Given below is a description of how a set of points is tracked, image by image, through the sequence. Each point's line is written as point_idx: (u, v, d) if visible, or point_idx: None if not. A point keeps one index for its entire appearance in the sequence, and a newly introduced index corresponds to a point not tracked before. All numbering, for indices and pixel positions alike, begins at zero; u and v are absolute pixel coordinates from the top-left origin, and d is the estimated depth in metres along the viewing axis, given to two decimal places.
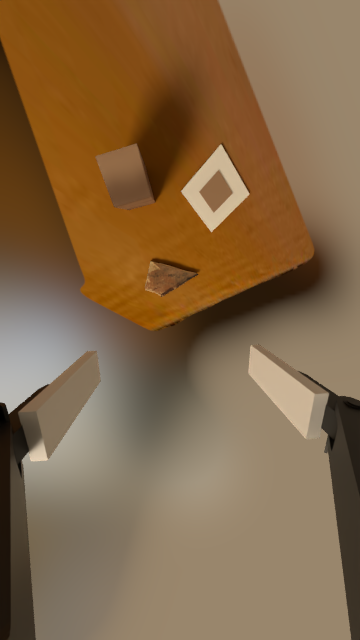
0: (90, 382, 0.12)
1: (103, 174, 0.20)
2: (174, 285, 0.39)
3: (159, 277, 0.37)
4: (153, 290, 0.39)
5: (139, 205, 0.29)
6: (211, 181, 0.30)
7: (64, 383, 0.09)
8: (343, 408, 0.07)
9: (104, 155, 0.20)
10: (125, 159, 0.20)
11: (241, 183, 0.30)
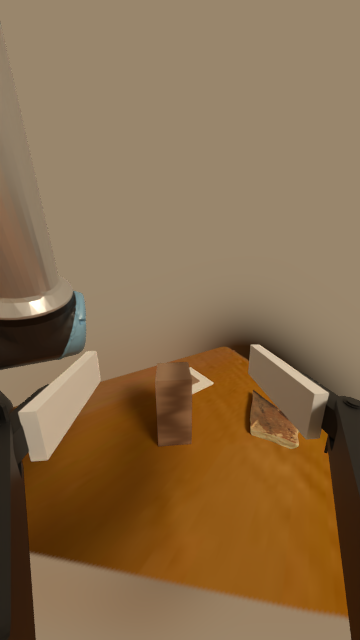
0: (90, 382, 0.12)
1: (167, 379, 0.23)
2: (275, 409, 0.31)
3: (269, 421, 0.28)
4: (294, 433, 0.26)
5: None
6: None
7: (64, 383, 0.09)
8: (343, 408, 0.07)
9: (156, 376, 0.24)
10: (163, 368, 0.26)
11: None
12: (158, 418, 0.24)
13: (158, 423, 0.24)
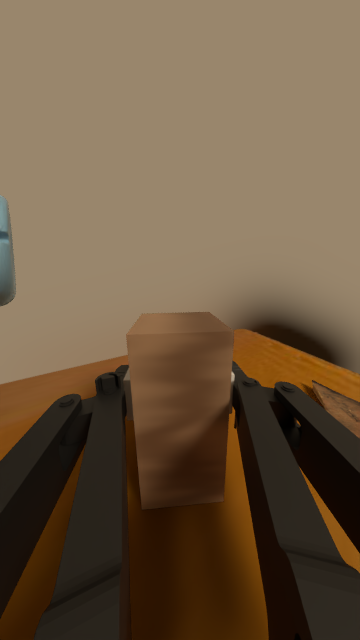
0: None
1: (163, 332, 0.08)
2: None
3: None
4: None
5: None
6: None
7: None
8: (242, 388, 0.09)
9: (133, 328, 0.09)
10: (153, 318, 0.11)
11: None
12: (139, 442, 0.09)
13: (140, 455, 0.09)
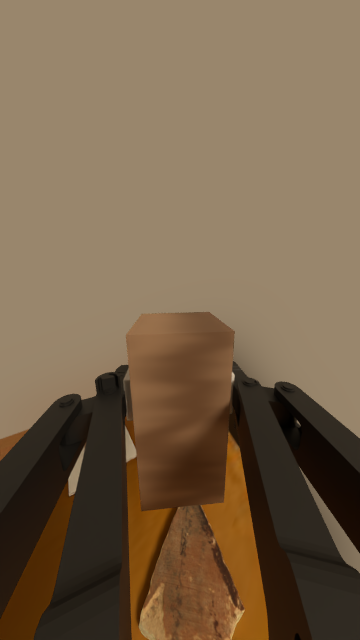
0: None
1: (163, 332, 0.08)
2: (208, 539, 0.17)
3: (184, 592, 0.14)
4: None
5: None
6: None
7: None
8: (242, 388, 0.09)
9: (133, 328, 0.09)
10: (153, 318, 0.11)
11: None
12: (139, 443, 0.09)
13: (140, 456, 0.09)
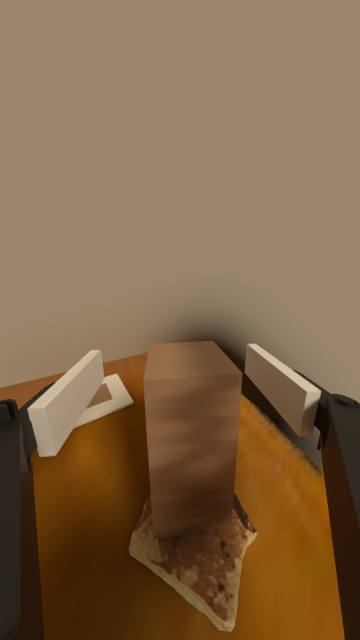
0: (94, 380, 0.13)
1: (177, 376, 0.09)
2: None
3: None
4: (232, 562, 0.10)
5: None
6: None
7: (70, 381, 0.10)
8: (334, 406, 0.08)
9: (147, 369, 0.09)
10: (162, 352, 0.11)
11: None
12: (153, 477, 0.09)
13: (153, 489, 0.10)
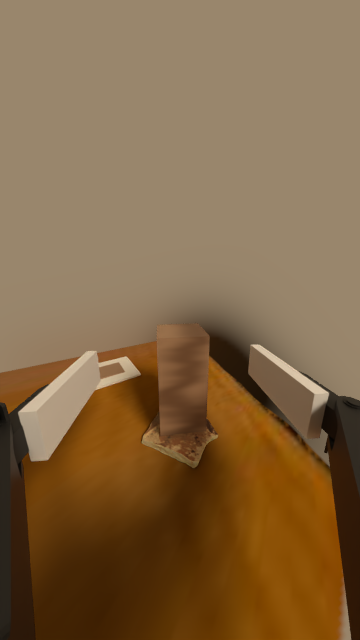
0: (90, 382, 0.12)
1: (174, 337, 0.16)
2: None
3: None
4: (200, 443, 0.17)
5: None
6: None
7: (64, 383, 0.09)
8: (343, 408, 0.07)
9: (158, 335, 0.17)
10: (166, 328, 0.19)
11: (116, 359, 0.37)
12: (161, 395, 0.17)
13: (160, 402, 0.17)
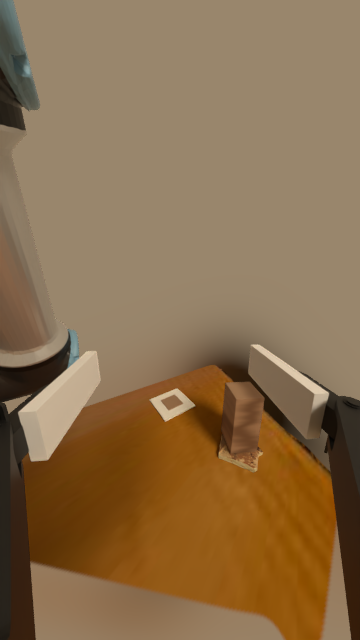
0: (90, 382, 0.12)
1: (245, 398, 0.29)
2: None
3: None
4: (255, 458, 0.30)
5: None
6: (165, 404, 0.45)
7: (64, 383, 0.09)
8: (343, 408, 0.07)
9: (234, 395, 0.29)
10: (233, 387, 0.32)
11: (170, 391, 0.50)
12: (234, 429, 0.30)
13: (233, 434, 0.30)
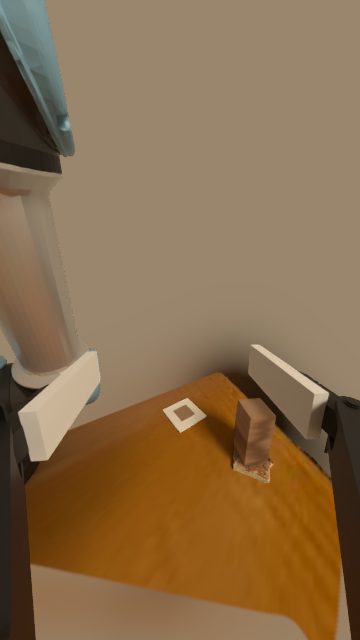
0: (90, 382, 0.12)
1: (258, 417, 0.31)
2: None
3: None
4: (267, 469, 0.33)
5: None
6: (177, 414, 0.47)
7: (64, 383, 0.09)
8: (343, 408, 0.07)
9: (248, 414, 0.32)
10: (246, 405, 0.34)
11: (181, 401, 0.53)
12: (248, 445, 0.32)
13: (247, 449, 0.32)
